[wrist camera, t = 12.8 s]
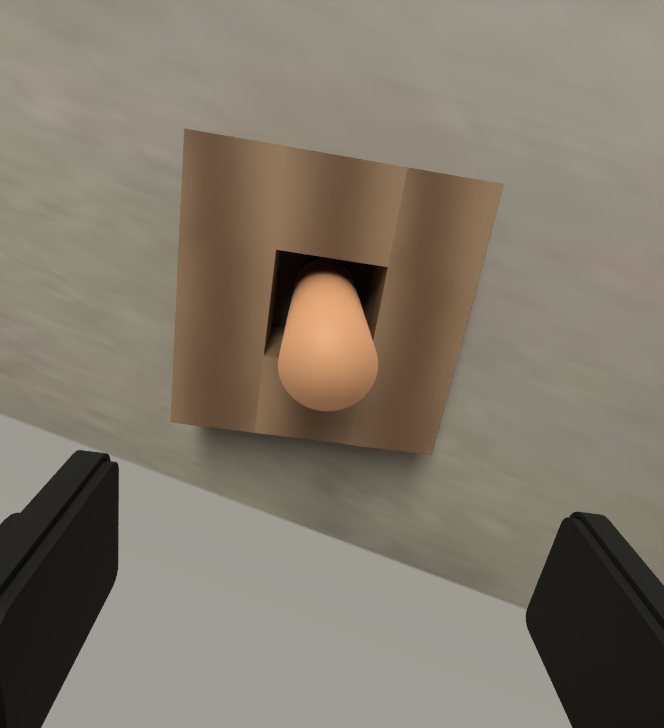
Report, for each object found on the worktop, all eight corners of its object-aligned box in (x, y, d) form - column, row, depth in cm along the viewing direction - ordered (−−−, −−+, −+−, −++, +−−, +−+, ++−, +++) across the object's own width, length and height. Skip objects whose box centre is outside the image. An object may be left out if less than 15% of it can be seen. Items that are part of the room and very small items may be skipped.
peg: (359, 264, 32) (387, 325, 19) (348, 322, 33) (368, 417, 20) (298, 254, 32) (284, 310, 19) (290, 313, 33) (272, 404, 20)
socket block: (469, 182, 30) (504, 184, 25) (414, 411, 36) (431, 455, 30) (210, 137, 29) (184, 128, 24) (194, 382, 35) (170, 422, 29)
